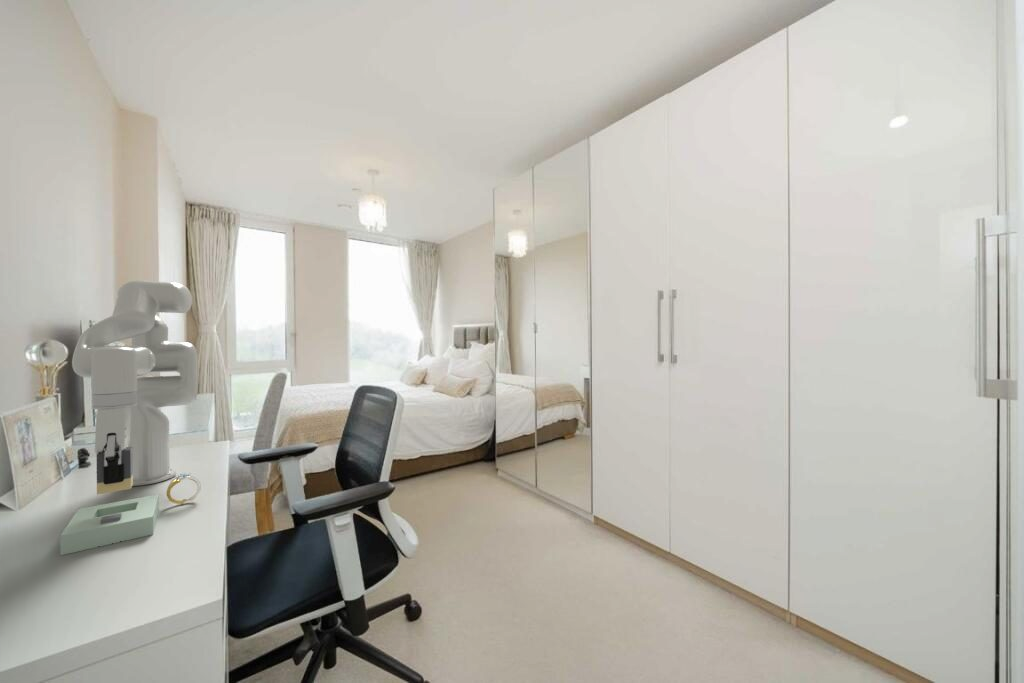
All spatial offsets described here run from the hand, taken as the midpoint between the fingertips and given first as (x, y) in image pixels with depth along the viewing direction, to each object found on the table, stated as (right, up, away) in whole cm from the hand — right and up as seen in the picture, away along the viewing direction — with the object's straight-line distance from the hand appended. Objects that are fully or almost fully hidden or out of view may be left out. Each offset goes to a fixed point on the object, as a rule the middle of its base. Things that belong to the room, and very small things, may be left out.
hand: (115, 479), depth 93 cm
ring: (+5, -11, +13) cm, 18 cm away
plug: (0, -2, 0) cm, 2 cm away
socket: (+1, -11, -1) cm, 11 cm away
